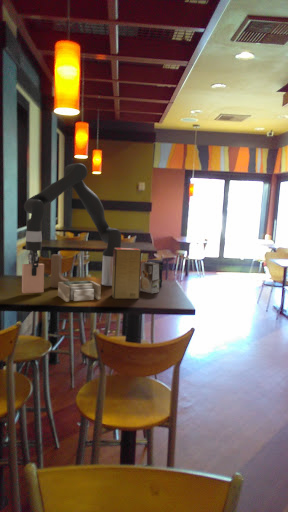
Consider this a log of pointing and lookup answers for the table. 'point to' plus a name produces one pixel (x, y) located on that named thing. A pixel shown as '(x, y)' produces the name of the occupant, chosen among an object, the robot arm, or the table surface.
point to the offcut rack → (79, 290)
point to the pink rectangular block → (32, 279)
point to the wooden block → (56, 270)
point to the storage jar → (160, 269)
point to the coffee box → (150, 277)
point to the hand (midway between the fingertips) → (33, 274)
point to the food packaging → (126, 273)
